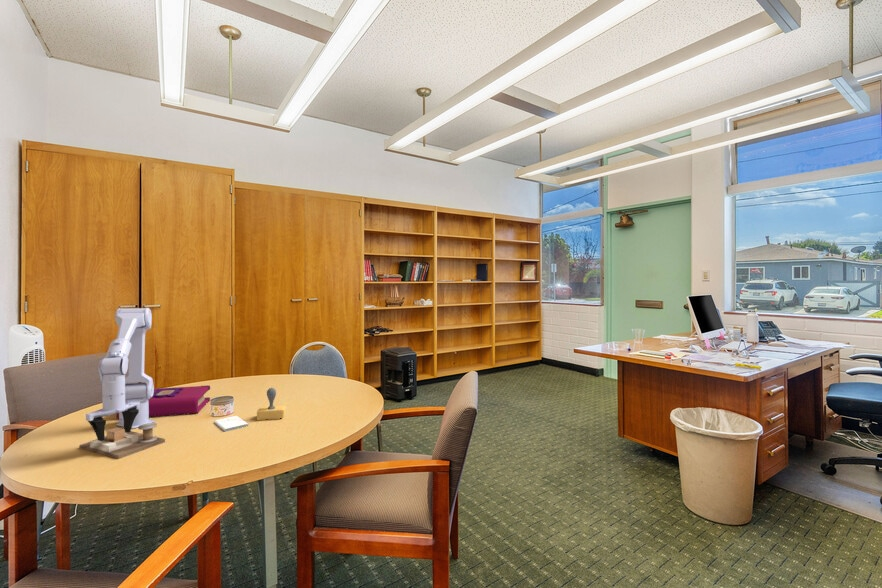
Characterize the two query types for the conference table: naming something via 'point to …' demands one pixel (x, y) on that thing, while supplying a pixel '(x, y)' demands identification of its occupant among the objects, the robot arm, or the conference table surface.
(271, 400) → the rubber stamp
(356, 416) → the conference table surface
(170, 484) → the conference table surface
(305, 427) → the conference table surface
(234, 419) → the external hard drive
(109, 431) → the orange and brown block
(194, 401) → the book
